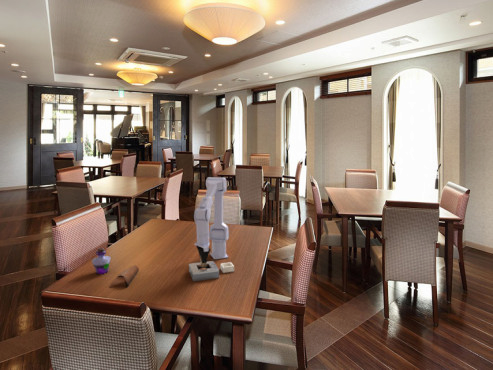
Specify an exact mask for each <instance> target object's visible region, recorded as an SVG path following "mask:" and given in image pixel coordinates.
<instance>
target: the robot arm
mask: <svg viewBox="0 0 493 370" xmlns="http://www.w3.org/2000/svg"><path fill="white" fill-rule="evenodd" d="M227 183H228V181H227V179H226V177H215V176H214V177H211V176H209V177H208V176H207V178H206V180H205V186H206V193H205V195H204V196H203V197H202V198H201V200H200V202H199V205H198V208H195V209H194V214H193V219H194V222H195V223H194V225H196V228H195V229H196V242H194V246H195V247H196V249H197V251H198V254H199V257H200V256H201V260H200V262H201V261H202V263H207V262H208V259H209V258H208V257H209V254H210V256H211V257H212V258H213V260H220V259H228V258H229V255H228V254H227V241H228V240H229V237H230V231H229V226H228V225H227V224H226V223H225V222H224V195H225V193H226V192H227V190H228V189H227V188H228V187H227V186H228V185H227ZM213 199H214V200H213ZM213 204H214V207H213V209H214V211H213V213H214V218H213V219H214V220H213V221H214V223H212V224H211V225H209V224H210V222H209V221H210V219H211V213H212V211H211V210H212V206H213ZM210 240H211V243H210ZM210 244H211V248H210V247H209V246H210Z"/></svg>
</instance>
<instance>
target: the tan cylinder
mask: <svg viewBox="0 0 493 370" xmlns="http://www.w3.org/2000/svg"><path fill="white" fill-rule="evenodd" d="M199 259H200V262H201V268H205V267H207V263H202V261H201V256H199Z"/></svg>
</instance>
